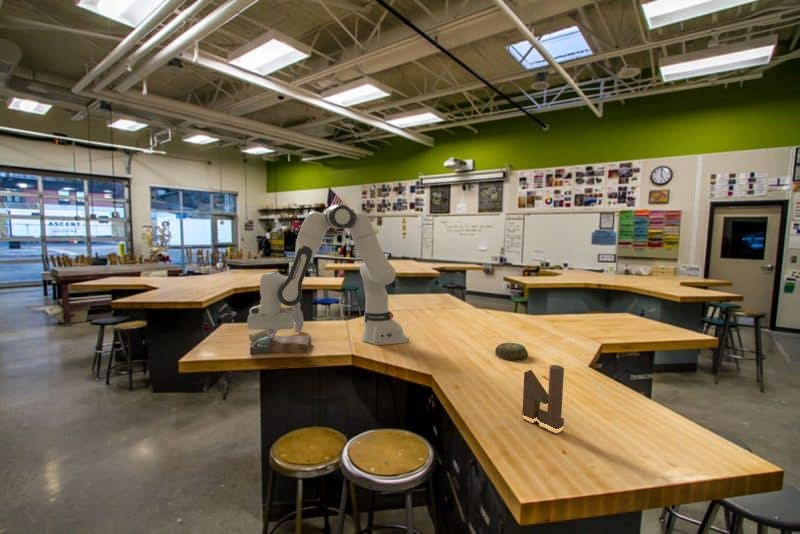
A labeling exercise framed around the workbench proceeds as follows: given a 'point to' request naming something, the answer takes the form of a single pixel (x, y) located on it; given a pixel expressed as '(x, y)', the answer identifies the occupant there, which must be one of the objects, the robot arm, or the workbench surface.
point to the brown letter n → (544, 397)
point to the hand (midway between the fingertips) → (271, 338)
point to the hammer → (261, 333)
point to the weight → (511, 351)
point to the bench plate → (290, 344)
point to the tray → (259, 348)
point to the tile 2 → (263, 340)
